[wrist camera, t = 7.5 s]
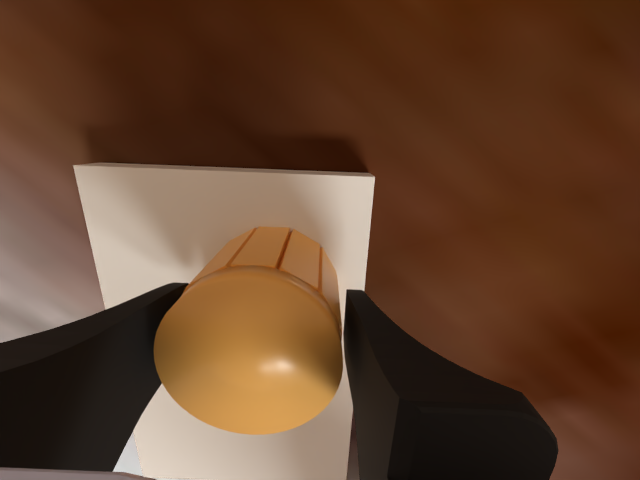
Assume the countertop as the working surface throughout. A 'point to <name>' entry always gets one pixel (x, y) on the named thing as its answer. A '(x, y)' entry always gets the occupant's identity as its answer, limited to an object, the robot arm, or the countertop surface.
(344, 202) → the mounting plate
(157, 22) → the countertop surface
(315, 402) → the cupcake
